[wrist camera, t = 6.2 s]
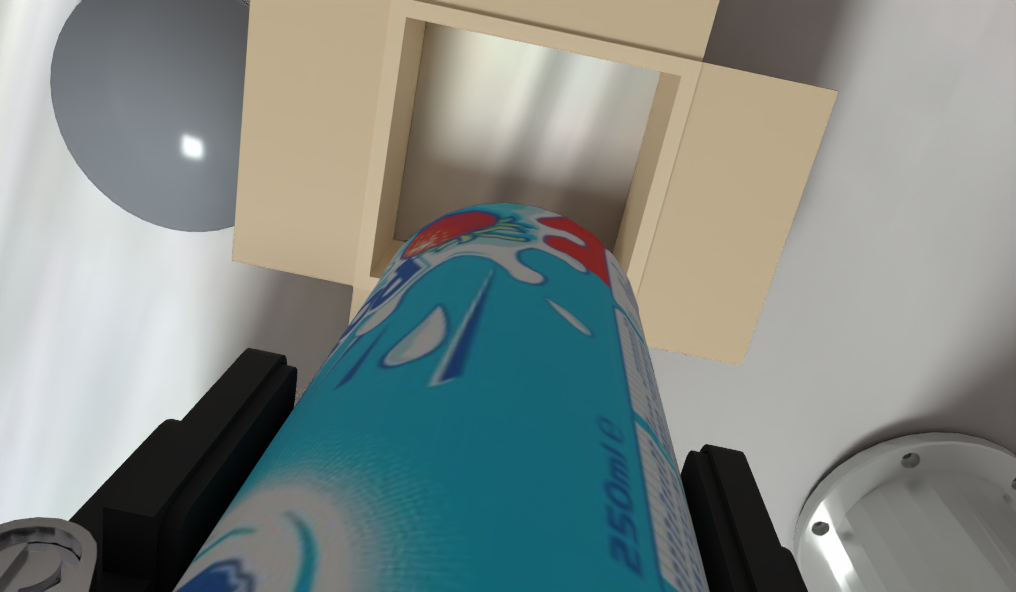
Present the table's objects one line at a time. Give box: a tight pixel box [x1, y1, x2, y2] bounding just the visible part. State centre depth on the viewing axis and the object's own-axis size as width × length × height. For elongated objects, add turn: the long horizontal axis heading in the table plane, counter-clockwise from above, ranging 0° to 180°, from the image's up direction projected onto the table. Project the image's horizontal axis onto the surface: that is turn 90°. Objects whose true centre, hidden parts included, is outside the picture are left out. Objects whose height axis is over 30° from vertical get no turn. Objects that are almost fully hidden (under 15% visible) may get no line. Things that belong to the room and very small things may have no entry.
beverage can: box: [173, 203, 710, 592], centre depth 11 cm, size 6×6×15 cm
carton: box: [232, 0, 838, 366], centre depth 32 cm, size 21×21×5 cm
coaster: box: [50, 0, 250, 232], centre depth 34 cm, size 11×11×1 cm
